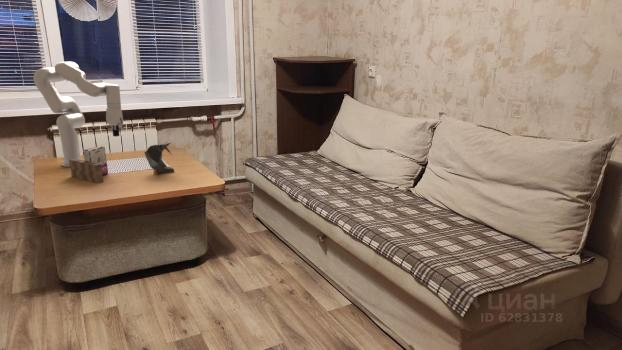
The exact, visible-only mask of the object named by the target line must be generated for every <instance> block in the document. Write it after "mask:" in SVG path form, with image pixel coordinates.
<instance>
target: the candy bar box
mask: <svg viewBox="0 0 622 350" xmlns="http://www.w3.org/2000/svg"><path fill="white" fill-rule="evenodd" d="M83 157H84V159H83V160H84V161H88V162H92V163H97V164H101V169H102V177H103V176H105V175H108V174H109V168H108V162H107V155H106V148H105V146H102V145H97V146H93V147H91V148H90V147H89V148H86V149H83Z"/></svg>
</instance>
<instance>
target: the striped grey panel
mask: <svg viewBox="0 0 622 350" xmlns="http://www.w3.org/2000/svg"><path fill="white" fill-rule="evenodd" d="M69 163H70V167H69V168H70V175H71V177H73V178H75V179H80V180H84V181H88V182H92V183H96V184H100V183H104V180H103V179H104V178H103V176H102V169H101V164H97V163H92V162H88V161H85V160H84V159H83V160H82V159H81V160H79V159H70V160H69Z"/></svg>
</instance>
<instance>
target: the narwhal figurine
mask: <svg viewBox="0 0 622 350" xmlns="http://www.w3.org/2000/svg"><path fill="white" fill-rule="evenodd" d="M171 143H173V142H169V143H162V144H153V145H149V147H147V150H146V151H144V156H145V159H146V160H147V161H148V164H149V167H150V168H151V169H153V175H159V174H163V173H164V174H165V173H174V172H175V169H174V167H173V168H172V167H170V166H167V164H166V163H165V162H164V161H163V160H162V159H163V152H164V150H166V151H167V152H168V153H169V154H170V155H171V156H173V154H172V153H171V151H170V150H169V148H168V146H169V145H170V144H171Z"/></svg>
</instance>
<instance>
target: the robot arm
mask: <svg viewBox="0 0 622 350" xmlns="http://www.w3.org/2000/svg"><path fill="white" fill-rule="evenodd" d="M86 78H87V75H86V73H85V72H84V71H82V70H81V69H80V67H79V65H78V64H77V63H76V62H74V61H61V62H58V63H57V64H55V66H54V67H42V68H39V69H37V70H36V71H35V72H34V74H33V82H34V85H35V87H36V88H37V89H38V92H40V93H41V95H42V96H43V99H44V101H45V102H46V104H47V105H48V107H49V109H50V110H51V111H52V113H54V114H61V115H59V116H58V117H57V119H56V127H57V129H58V132H59V135H60V142H61V149H62V155H63V157H61V160H62V161H63V162H62V163H61V166H62V167H67V168H68V167H69V168H70V163H69V160H70V159H79V160H82V154H81V147H80V141H79V140H80V139H79V136H78V133H77V131H76V130H75V129H77V128H82V127H83V126H84V125H85V123H86V118H85V116H84V114H83V112H82V111H81V108H80V107H79V105H78V103H77V102H76V100H75V99H74V98H72V97H71V96H68V95H67V96H61V94H60V93H59V91H58V90H57V89H58V88H56V87H55V86H54V85H52V84H51V83H56V82H57V83H59V82H63V81H66V80H67V81H68V82H71V83H73V84H74V85H76V87H77V88H78V90H79V91H81V92H82V93H84V94H86V95H87V96H90V97H92V98H98V97H104V96H105V97H106V109H105V112H106V113H105V121H106V124H107V125H109V126H110V127H111V130H112V137H119V136H120V129H121V128H122V127H123V125H124V116H123V111H122V103H121V90H120V85H119V84H115V83H107V82H97V83H92V82H90V81H88V80H86Z"/></svg>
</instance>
